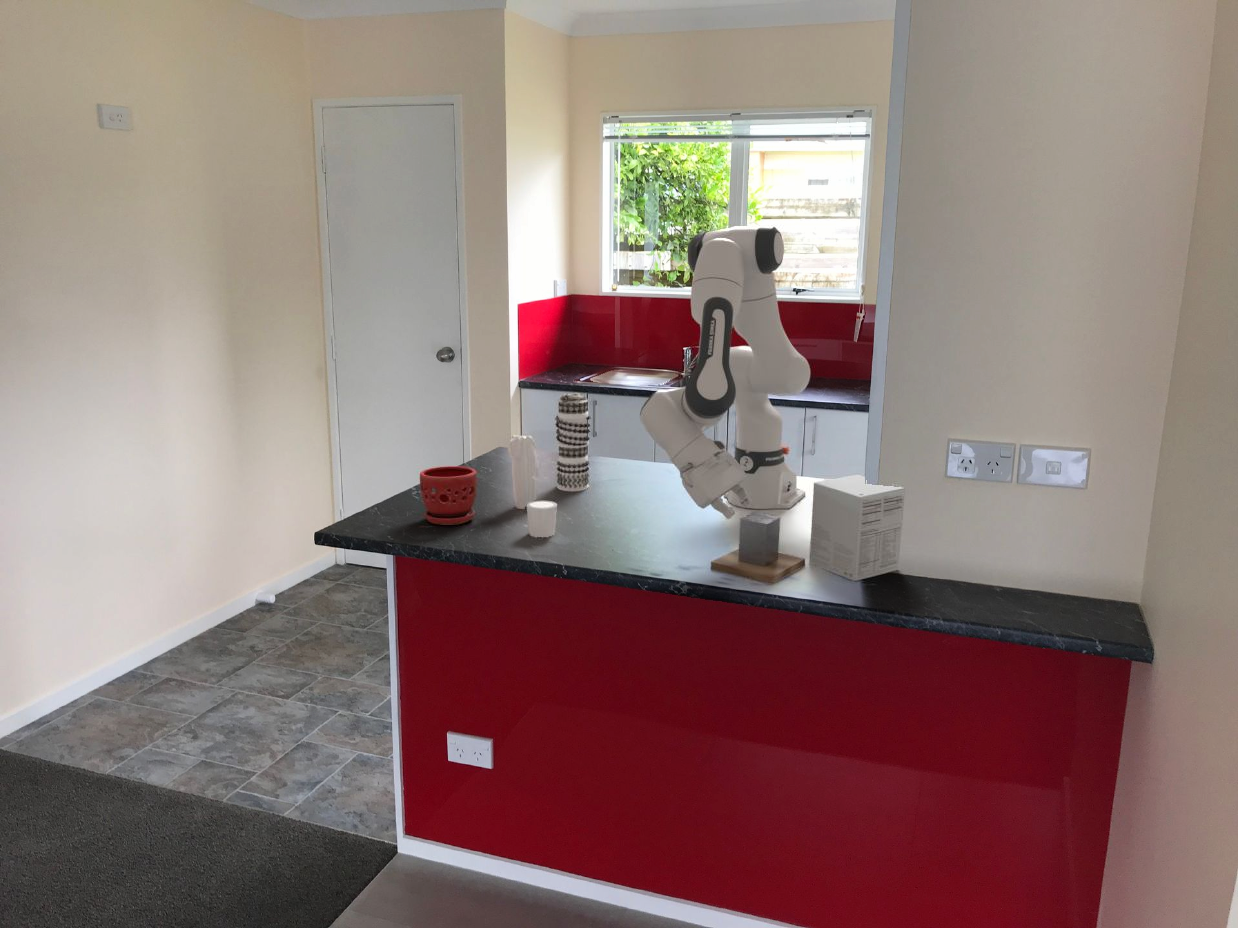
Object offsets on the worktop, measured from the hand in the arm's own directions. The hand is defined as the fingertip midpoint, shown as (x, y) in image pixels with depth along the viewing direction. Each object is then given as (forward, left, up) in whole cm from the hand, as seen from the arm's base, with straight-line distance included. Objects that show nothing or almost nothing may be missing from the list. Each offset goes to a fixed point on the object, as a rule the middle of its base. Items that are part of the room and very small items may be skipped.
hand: (740, 510), depth 199 cm
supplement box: (-13, +20, -12) cm, 26 cm away
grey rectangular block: (0, +4, -10) cm, 11 cm away
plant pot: (+18, -68, -12) cm, 72 cm away
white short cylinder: (+12, -44, -12) cm, 47 cm away
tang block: (0, +5, -11) cm, 12 cm away
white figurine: (-1, -62, -12) cm, 64 cm away
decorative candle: (-23, -65, -12) cm, 70 cm away
